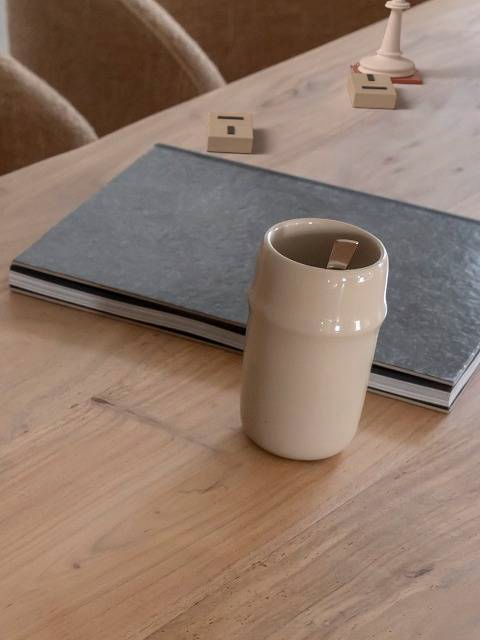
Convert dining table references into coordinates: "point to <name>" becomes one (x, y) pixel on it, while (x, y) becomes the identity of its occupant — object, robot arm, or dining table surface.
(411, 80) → the reddish brown square tile
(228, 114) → the left block
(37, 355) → the dining table surface
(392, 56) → the chess piece
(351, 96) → the beige block
